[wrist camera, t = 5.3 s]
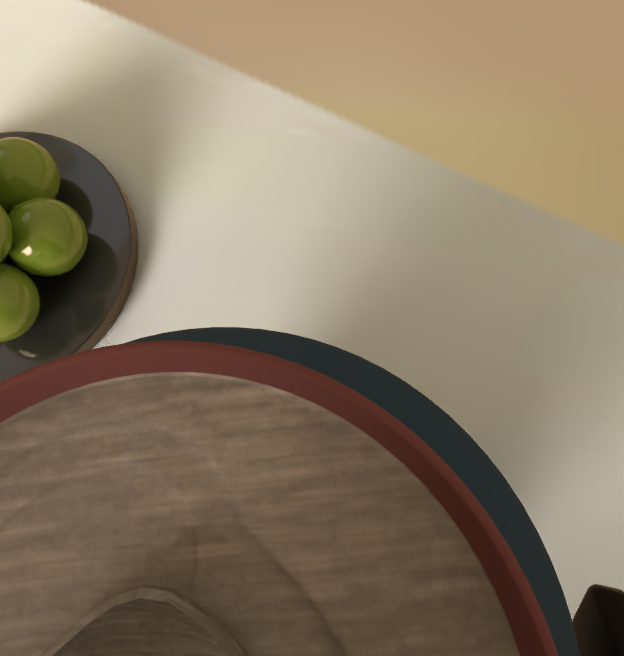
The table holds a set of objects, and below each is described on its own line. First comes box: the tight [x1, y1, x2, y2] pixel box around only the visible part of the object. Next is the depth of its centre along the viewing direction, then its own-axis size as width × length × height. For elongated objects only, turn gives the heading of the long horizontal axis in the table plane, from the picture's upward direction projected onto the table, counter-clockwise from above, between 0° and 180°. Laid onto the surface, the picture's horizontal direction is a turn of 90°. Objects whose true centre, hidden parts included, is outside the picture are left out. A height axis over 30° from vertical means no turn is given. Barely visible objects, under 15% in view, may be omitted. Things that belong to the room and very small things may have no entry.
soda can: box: [0, 327, 580, 656], centre depth 10 cm, size 7×7×12 cm
